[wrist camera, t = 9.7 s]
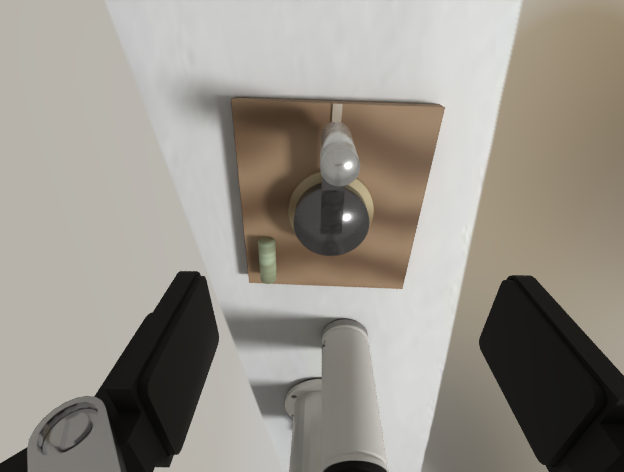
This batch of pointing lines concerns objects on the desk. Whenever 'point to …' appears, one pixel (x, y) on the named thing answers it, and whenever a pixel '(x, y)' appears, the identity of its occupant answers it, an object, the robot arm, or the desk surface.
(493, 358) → the robot arm
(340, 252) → the grey rounded piece
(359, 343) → the travel mug
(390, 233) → the base
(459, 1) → the desk surface
